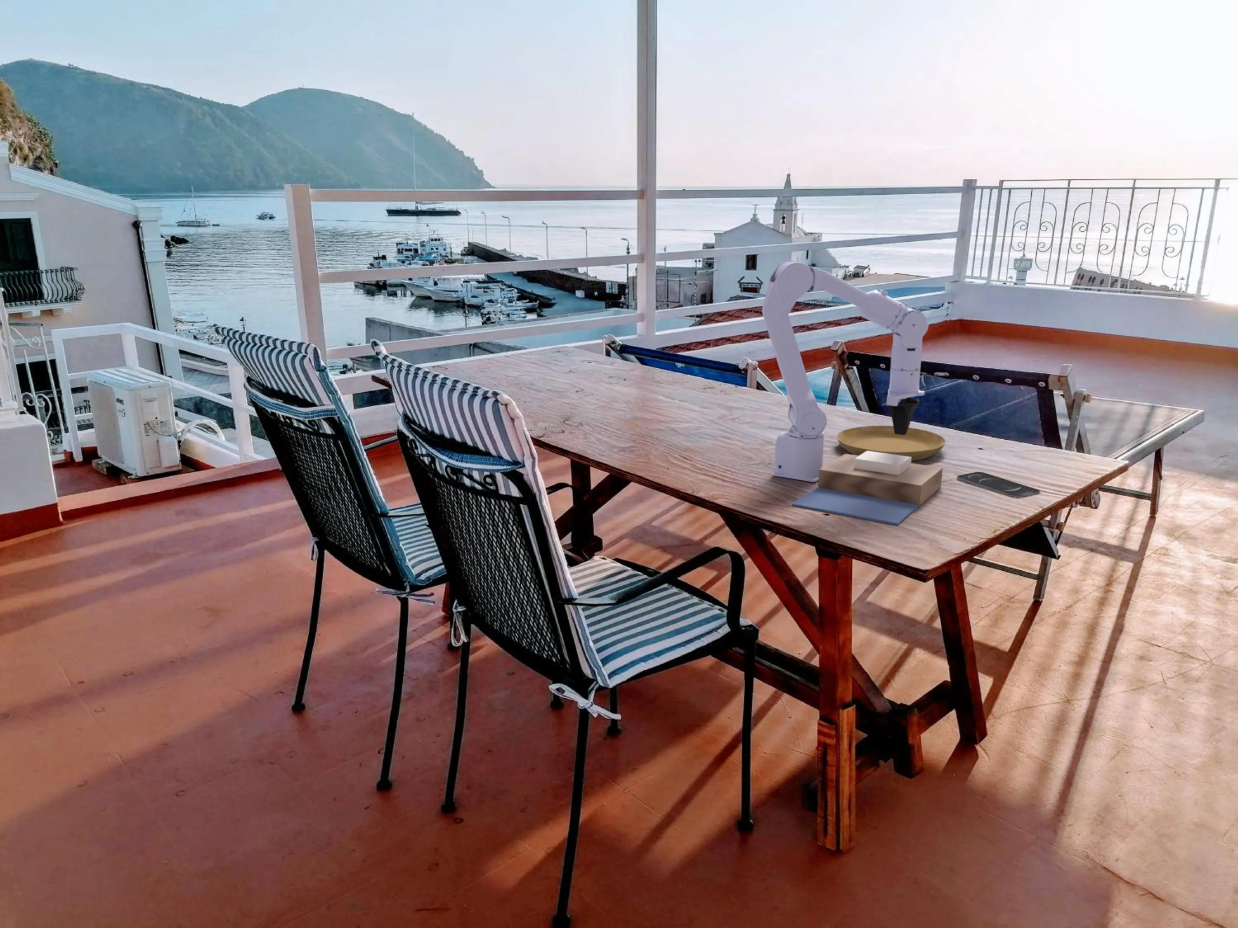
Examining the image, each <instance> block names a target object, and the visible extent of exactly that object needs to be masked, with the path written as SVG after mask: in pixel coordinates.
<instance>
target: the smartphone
mask: <svg viewBox="0 0 1238 928" xmlns="http://www.w3.org/2000/svg"><path fill="white" fill-rule="evenodd" d="M956 480H957V481H960V482H963V483H967V484H969V485H971V486H972V485H973V486H976V487H979V488H982V489H985V490H988V491H991V492H993V493H994V492H995V493H998V494H1000V495H1003V494H1004V496H1006V497H1010V498H1013V497H1016V498H1015V499H1021V498H1020V497H1022V498H1027V497H1030V496H1029V495H1031V496H1034V495H1033V494H1036V495H1039V494H1038V493H1040V494H1041V490H1040V489H1038V488H1034V487H1031V486H1028V485H1024V484H1021V483H1019V482H1015V481H1012V480H1009V479H1006V478H1003V477H1000V476H997V475H993V474H991V473H990V474H989V473H987V472H983V471H974V472H969V473H968V472H967V473H965V474H964V473H963V474H959V475H957V477H956ZM1026 496H1027V497H1026ZM1018 497H1019V498H1018Z"/></svg>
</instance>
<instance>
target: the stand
mask: <svg viewBox="0 0 1238 928" xmlns="http://www.w3.org/2000/svg"><path fill="white" fill-rule="evenodd" d="M856 457H858V456H857V455H854V454H851V453H850V454H848V453H845V454H842V455H841V456H839V457H838V458H836V459H834V460H832V461H831V462H829V463H828V464H826V465H824V466H822V468H821V469H819V479H818V480H817V482H818V483H817V487H818V488H824V489H830V490H835V491H841V492H847V493H853V494H859V495H865V496H871V497H877V498H883V499H888V500H894V501H900V502H906V503H912V504H918V505H919V507H920V506H921V505H923V504H924V503H925V502H926V501H927V500H929V498H931V497H932V496H933V495H934V494H935V493H936V492H937V491H938V490H939V489H941V487H942V481H943V480H942V479H943V469H944V468H943V467H940V466H932V465H925V464H920V463H919V464H918V463H913V462H911V467H910V468H908V469H907V470H906V471H904V472H903V473H902V474H900V475H895V474H889V473H882V472H876V471H869V470H863V469H856V468H854V462H855V458H856Z"/></svg>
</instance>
